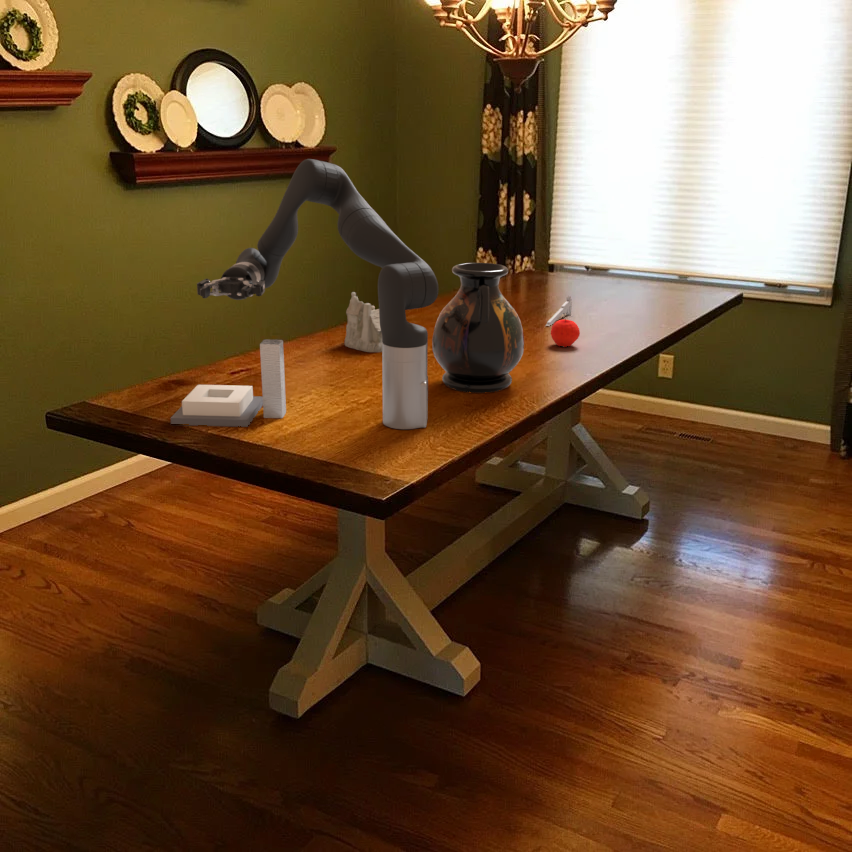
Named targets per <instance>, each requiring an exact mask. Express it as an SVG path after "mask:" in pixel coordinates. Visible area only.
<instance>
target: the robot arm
mask: <svg viewBox="0 0 852 852" xmlns="http://www.w3.org/2000/svg"><path fill="white" fill-rule="evenodd" d="M306 201H308V202H310V203H316V204H321V205H325V206H329V207H331V208H332V209H333V210H334V211H335V212H337V214H338V219H337V231H338V234H339V236H340V237H341V239H342V241H343V242H344V243H345V244H346V245H347V247H348V248H349V249H350V251H351V252H352V253H354V255H356V256H357V257H359V258H360V259H362V260H364V261H365V262H368V263H369V264H372V265H374V266H376V267H380V268H381V269H380V272H379V274H378V277H377V278H378V279H377V297H378V298H377V299H378V309H379V318H380V328H381V333H382V352H381V353H382V355H381V357H382V361H381V363H382V366H381V367H382V368H381V370H382V371H381V372H382V379H381V380H382V381H381V382H382V424H383V425H384V426H385V427H388V428H391V429H396V430H415V429H419V428H426V427H427V424H428V415H429V414H428V413H429V411H428V403H429V402H428V401H429V398H428V397H429V375H428V342H429V340H428V336H429V333H428V329H427V328H426V327H424V326H422V325H419V324H415V323H412V322H409V321H408V319H407V317H406V316H407V314H406V311H409V310H414V309H421V308H425V307H429V306H431V305H432V304H434V302H435V301H436V300H437V298H438V295H439V283H438V279H437V277H436V275H435V272H434V271H433V270H432V268H431V266H430V265H429V264H428V263H427V262H426V261H425V260H424V259H422V258H421V257H420V256H419V255H418V254H417V253H416V252H414V251H413V250H412V249H411V248H410V247H408V246H407V245H406V243H404V242H403V241H402V240H401V239H400V238H399V237H398V235H396V234H395V233H394V231H393V230H392V229H391V228H390V226H389V225H387V223H386V221H384V220H383V218H382V217H381V216H380V215H379V214H378V213H377V212H376V210H375V209H373V207H371V206H370V204H369V203H368V201H366V200H365V198H364V197H363V196H362V195H361V194H360V192H359V191H358V190H357V188H356V186H355V185H354V183H353V181H352V180H351V179H350V177H349V176H348V174H347V172H345V170H344V169H343V168H342V167H341V166H339V165H337V164H335V163H332V162H329V161H328V162H327V161H323V160H318V159H312V158H307V159H306V158H305V159H304V160H302V161H301V162H300V163H299V164H298V166H297V167H296V169H295V170H294V173H293V174H292V177H291V179H290V181H289V184H288V185H287V187H286V190H285V192H284V195H283V197H282V199H281V201H280V204H279V206H278V209H277V211H276V213H275V215H274V217H273V219H272V220H271V221H270V223H269V225H268V226H267V228H266V229H265V230H264V232H263V233H262V234H261V236H260V238H259V239H258V241H257V246H256V248H257V249H256V248H254V247H248V248H245V249H244V250H243V251H241V253H240V254H239V255H238V257H237V258H236V262H235V264H232V266H230V267H229V268H228V269H226V270H225V271H224V272H223V273H222V275H221V277H220V278H219V279H213V280H210V278H204V279H203V280H201V281H199V282H197V283H196V288H197V289H196V291H197V296H200V297H202V299H207V298H209V297H210V296H215V297H221V296H227V297H228V298H229V299H232V300H236V301H240V300H246V299H247V298H250V297H253V296H254V295H255V296H256V297H262V296H263V295H264V294H265V292H266V289H268V288H270V287H272V286H273V284H274V283H275V282H276V281H277V278H278V277H279V274H280V273H279V272H280V269H281V266H282V262H283V259H284V258H285V256H286V254H287V253H288V251H289V250H290V249H291V247H293V245H294V244H295V241H296V239H297V237H298V234H299V221H298V211H299V209H300V207H302V205H303V204H304V203H305V202H306ZM211 289H212V290H211Z"/></svg>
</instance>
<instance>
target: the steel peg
mask: <svg viewBox="0 0 852 852" xmlns="http://www.w3.org/2000/svg"><path fill="white" fill-rule="evenodd" d="M259 352H260V370H261V372H260V373H261V392H262V396H263V406H262V408H263V409H262V411H263V418H264V419H283V418H284V417H285V415H286V413H287V405H286V404H287V401H286V399H287V398H286V380H285V355H284V340H283V339H263V340H262V341H261V342H260V343H259Z"/></svg>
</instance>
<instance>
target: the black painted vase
mask: <svg viewBox="0 0 852 852" xmlns="http://www.w3.org/2000/svg"><path fill="white" fill-rule="evenodd" d="M451 271H452V273H453V274H454V275H455V276H458V277H459V279H460V280H459V281H460V288H459V289H458V291H457V293H456V294H455V296H454V297H452V298H451V300H450V301H448V303H447V304H446V305H445V306H444V307H443V308H442V310H441V311H440V313H439V315H438V317H437V320H436V322H435V324H434V325H435V326H434V327H433V328H434V329H433V335H432V339H431V342H432V343H431V344H432V348H431V349H432V352H433V356H434V358H435V359H436V362H437V363H438V364H439V365H440V367H441V368H442V369H443V370H444V374H443V375H442V378H441V379H442V382H443V384H445V386H446V387H448V388H450V389H451V390H455V391H458V392H462V391H463V393H469V392H471V394H486V393H485V392H490V393H495V391H496V392H499V390H500V391H503V390H505V389H506V388H508V387H509V386H511V384H512V383H513V382H512V381H513V378H512V376H511V375H510V373H511V372H512V371H513V369H515V367H517V365H518V364H519V362H520V361H521V360H522V357H523V355H524V351H525V350H524V349H525V337H524V330H523V326H522V322H521V319H520V317H519V315H518V313H517V311H516V310H515V308H514V307H513V306H512V305H511V304H510V302H509V301H508V300H507V299H506V298H505V296H504V295H503V294H502V292H501V290H500V288H499V287H500V286H499V285H500V280H501V279H500V278H502V277H504V276H506V275H508V273H509V269H508V267H506V266H505V265H502V264H499V263H490V262H466V263H459V264H456V265H454V266H453V267H452V268H451Z"/></svg>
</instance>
